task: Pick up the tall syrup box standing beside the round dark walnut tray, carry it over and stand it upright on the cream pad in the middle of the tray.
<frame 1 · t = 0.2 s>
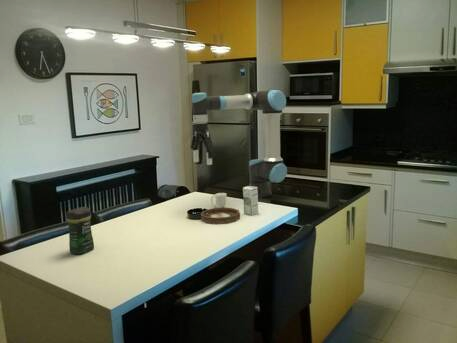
hand: (202, 163, 214), 28 cm above the table, tool pointing down, fingers open, 13 cm apart
round tray: (220, 218, 210), on the table
coffee jar: (82, 251, 171), on the table
cup: (219, 208, 231), on the table
syrup box: (251, 214, 216), on the table
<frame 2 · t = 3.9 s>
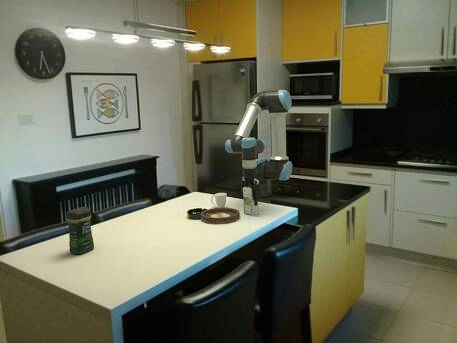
hand: (251, 210, 216), 2 cm above the table, tool pointing down, fingers closed on syrup box, 6 cm apart
syrup box: (251, 213, 216), on the table, touching gripper
everything else where it was.
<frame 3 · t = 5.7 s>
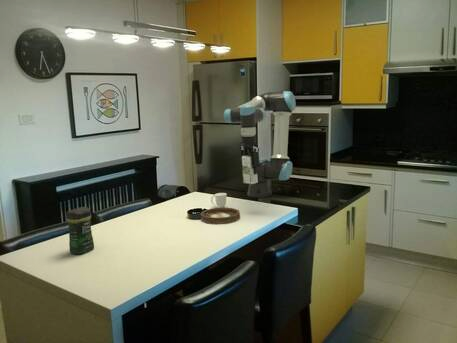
hand: (250, 179, 213), 19 cm above the table, tool pointing down, fingers closed on syrup box, 6 cm apart
syrup box: (250, 183, 213), point 16 cm above the table, touching gripper
everything else where it was.
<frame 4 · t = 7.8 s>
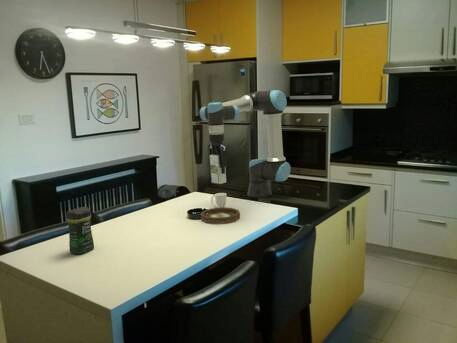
hand: (218, 178, 206), 21 cm above the table, tool pointing down, fingers closed on syrup box, 6 cm apart
syrup box: (218, 183, 206), point 19 cm above the table, touching gripper
everything else where it was.
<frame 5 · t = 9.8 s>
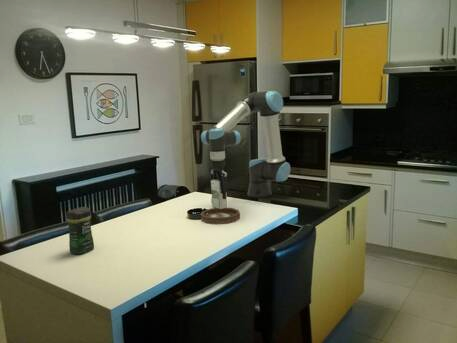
hand: (219, 203, 208), 8 cm above the table, tool pointing down, fingers closed on syrup box, 6 cm apart
syrup box: (219, 207, 209), point 6 cm above the table, touching gripper
everything else where it was.
when the fingers open (4 cm above the table, at t = 11.4 s): syrup box drops 1 cm, resting on round tray.
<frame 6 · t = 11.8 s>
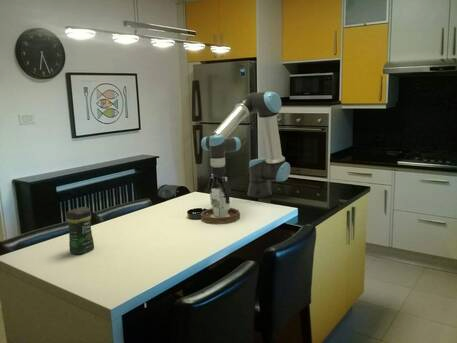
hand: (220, 207, 209), 6 cm above the table, tool pointing down, fingers open, 12 cm apart
syrup box: (220, 216, 210), point 1 cm above the table, touching round tray
everything else where it was.
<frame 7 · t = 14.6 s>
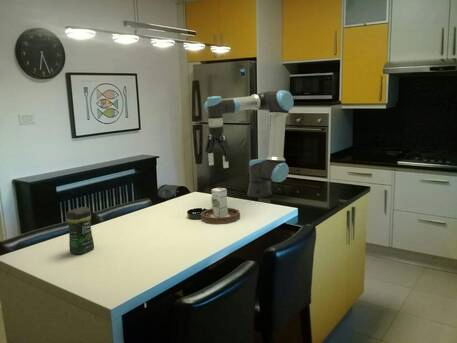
hand: (218, 166, 215), 26 cm above the table, tool pointing down, fingers open, 13 cm apart
nothing on the table moved.
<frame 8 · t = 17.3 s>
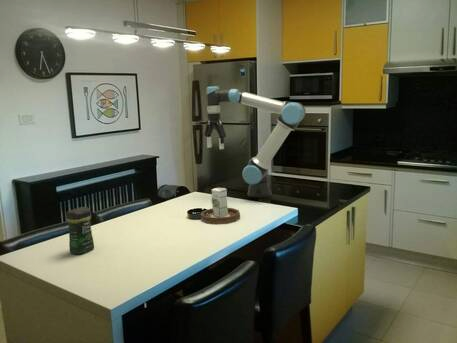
hand: (215, 148, 246), 32 cm above the table, tool pointing down, fingers open, 13 cm apart
nothing on the table moved.
at the end: syrup box inside the target area on the round tray (0.0 cm from its centre), point 1.0 cm above the round tray's base; syrup box tilted 0°; the gripper is holding nothing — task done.
